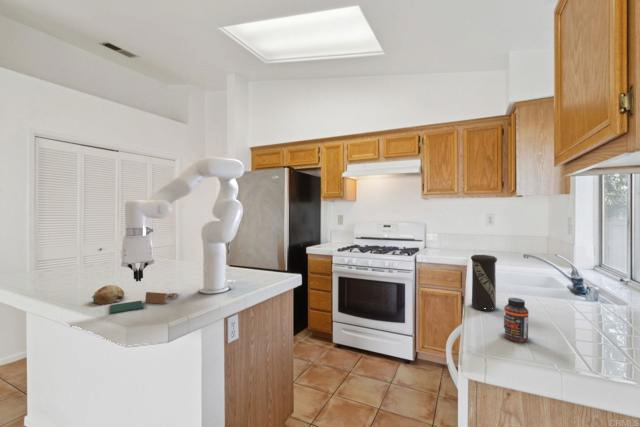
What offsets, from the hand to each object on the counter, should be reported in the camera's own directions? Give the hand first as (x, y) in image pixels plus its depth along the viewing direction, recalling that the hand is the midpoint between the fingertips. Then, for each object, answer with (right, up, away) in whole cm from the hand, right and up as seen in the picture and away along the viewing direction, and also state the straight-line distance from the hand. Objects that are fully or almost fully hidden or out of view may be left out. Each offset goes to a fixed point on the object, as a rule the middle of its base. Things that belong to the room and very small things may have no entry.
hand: (138, 280), depth 115 cm
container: (+131, -10, 0) cm, 131 cm away
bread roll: (-16, -10, +7) cm, 20 cm away
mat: (-4, -10, -1) cm, 11 cm away
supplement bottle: (+125, -11, -28) cm, 129 cm away
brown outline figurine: (+4, -8, +4) cm, 10 cm away
